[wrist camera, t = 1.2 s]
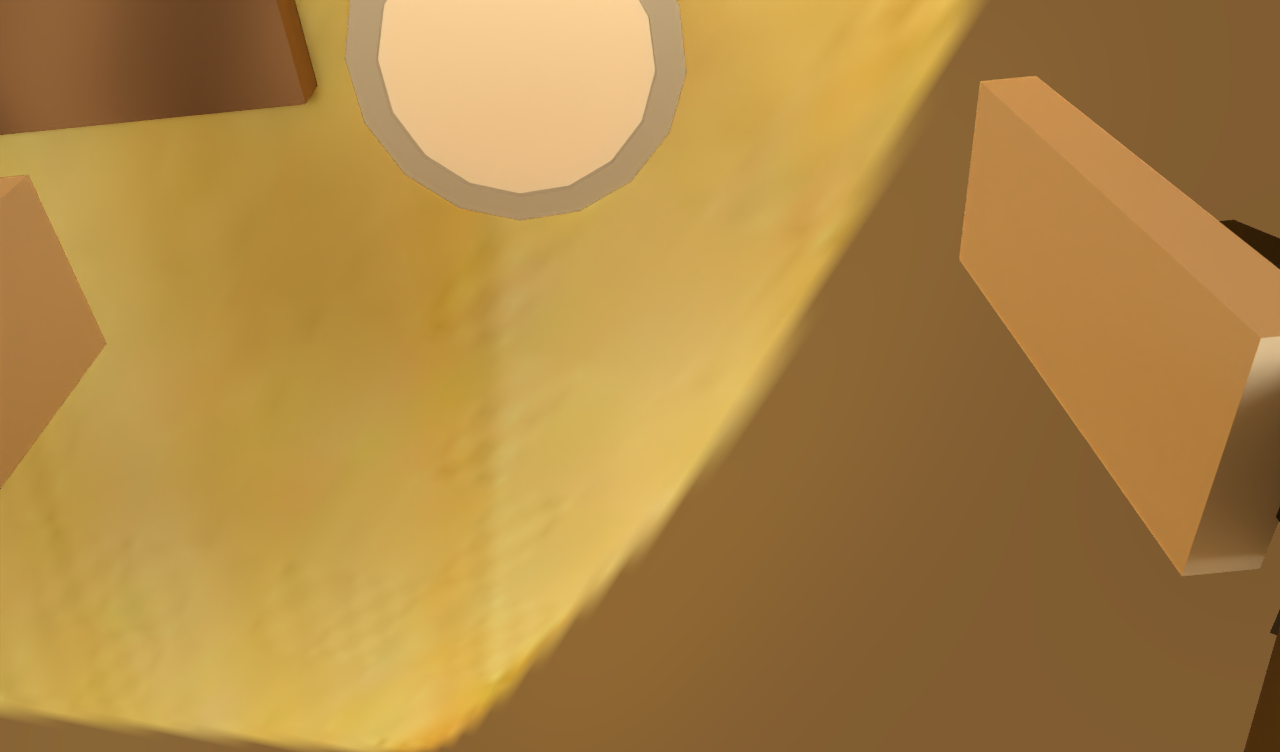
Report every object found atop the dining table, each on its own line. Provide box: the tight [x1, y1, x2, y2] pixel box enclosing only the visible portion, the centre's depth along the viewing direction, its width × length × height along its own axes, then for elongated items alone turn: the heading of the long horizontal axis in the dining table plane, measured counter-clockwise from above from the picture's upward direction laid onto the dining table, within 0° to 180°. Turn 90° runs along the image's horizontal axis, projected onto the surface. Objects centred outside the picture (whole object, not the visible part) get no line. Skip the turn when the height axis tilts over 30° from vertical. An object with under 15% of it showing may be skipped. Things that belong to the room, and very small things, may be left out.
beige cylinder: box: [345, 0, 686, 220], centre depth 23 cm, size 7×7×7 cm
